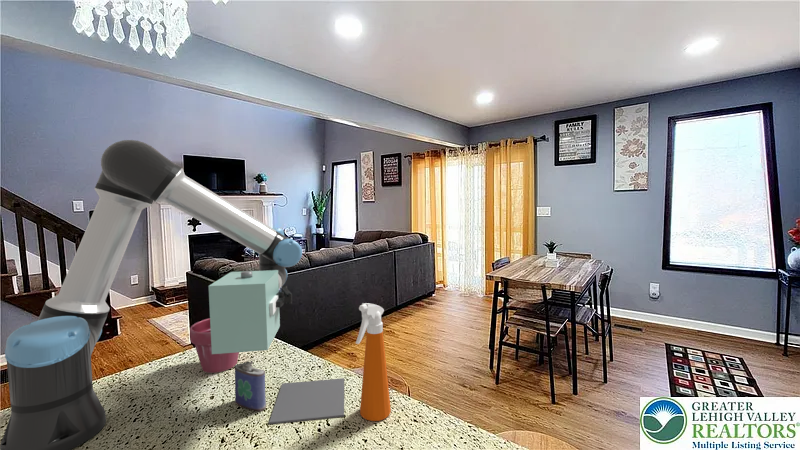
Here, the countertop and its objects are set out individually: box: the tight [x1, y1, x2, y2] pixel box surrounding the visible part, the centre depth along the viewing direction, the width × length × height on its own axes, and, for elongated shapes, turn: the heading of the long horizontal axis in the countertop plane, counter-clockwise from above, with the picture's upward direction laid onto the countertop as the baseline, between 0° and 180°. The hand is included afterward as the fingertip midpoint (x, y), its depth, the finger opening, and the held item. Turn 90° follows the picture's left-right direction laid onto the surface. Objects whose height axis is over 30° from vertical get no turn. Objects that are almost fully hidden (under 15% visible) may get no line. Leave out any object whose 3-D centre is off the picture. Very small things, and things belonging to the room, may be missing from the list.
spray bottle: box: [355, 302, 392, 422], centre depth 75 cm, size 7×11×26 cm, turn 154°
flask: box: [234, 360, 267, 413], centre depth 80 cm, size 9×3×11 cm, turn 63°
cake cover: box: [208, 270, 281, 354], centre depth 79 cm, size 11×14×16 cm
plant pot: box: [189, 317, 240, 374], centre depth 99 cm, size 14×14×13 cm
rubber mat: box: [268, 378, 345, 425], centre depth 83 cm, size 16×16×1 cm
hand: (242, 310), depth 75 cm, fingers closed on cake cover, 11 cm apart
